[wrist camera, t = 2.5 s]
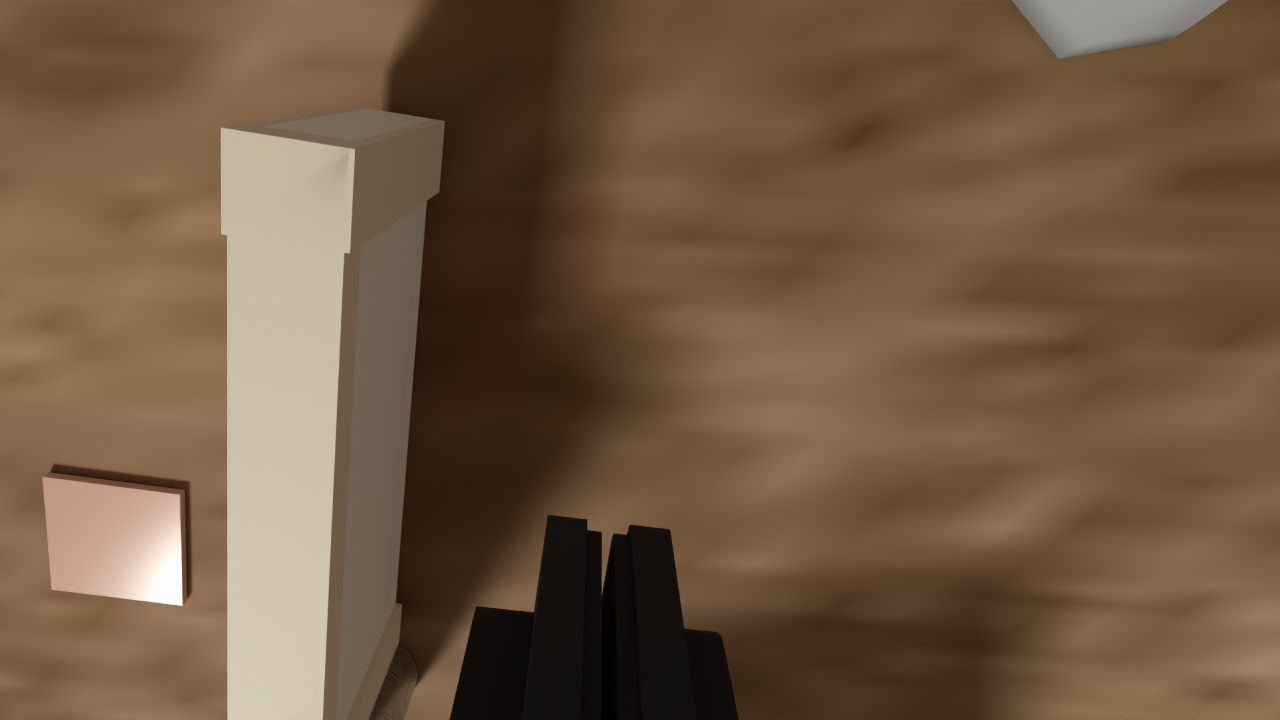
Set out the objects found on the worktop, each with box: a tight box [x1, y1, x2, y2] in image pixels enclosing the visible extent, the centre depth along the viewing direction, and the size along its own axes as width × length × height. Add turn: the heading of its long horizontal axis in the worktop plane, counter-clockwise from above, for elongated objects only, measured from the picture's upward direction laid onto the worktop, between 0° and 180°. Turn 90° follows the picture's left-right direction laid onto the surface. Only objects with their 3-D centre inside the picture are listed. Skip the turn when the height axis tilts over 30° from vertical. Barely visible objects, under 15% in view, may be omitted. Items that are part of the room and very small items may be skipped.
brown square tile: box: [43, 472, 187, 605], centre depth 26 cm, size 4×4×1 cm
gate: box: [221, 107, 445, 720], centre depth 20 cm, size 2×16×8 cm, turn 171°
